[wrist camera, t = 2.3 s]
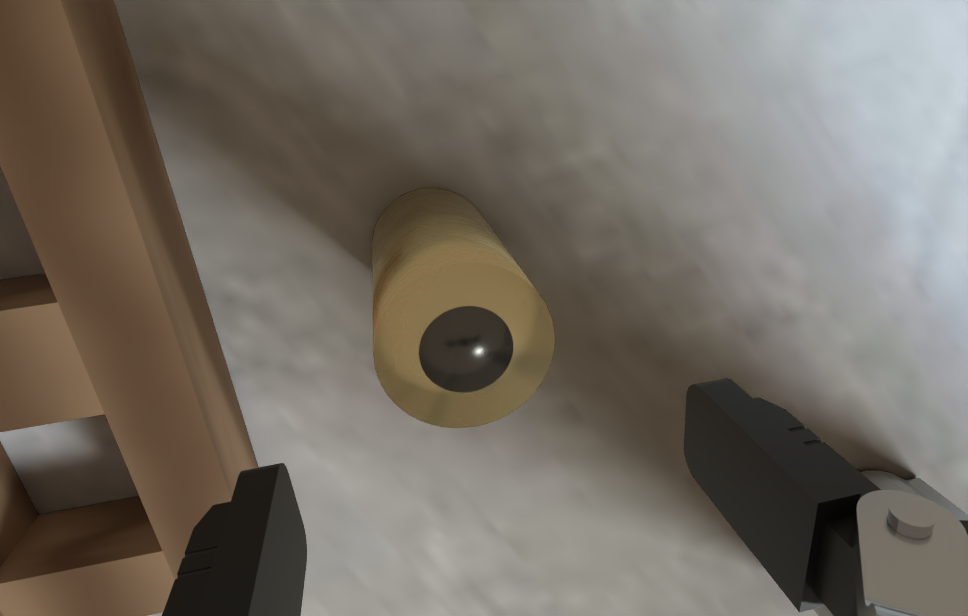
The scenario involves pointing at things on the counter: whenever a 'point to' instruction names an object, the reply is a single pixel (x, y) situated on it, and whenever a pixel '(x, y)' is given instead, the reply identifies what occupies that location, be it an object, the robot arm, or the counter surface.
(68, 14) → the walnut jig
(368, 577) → the counter surface
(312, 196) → the counter surface
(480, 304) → the yellow cylinder
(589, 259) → the counter surface
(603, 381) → the counter surface
